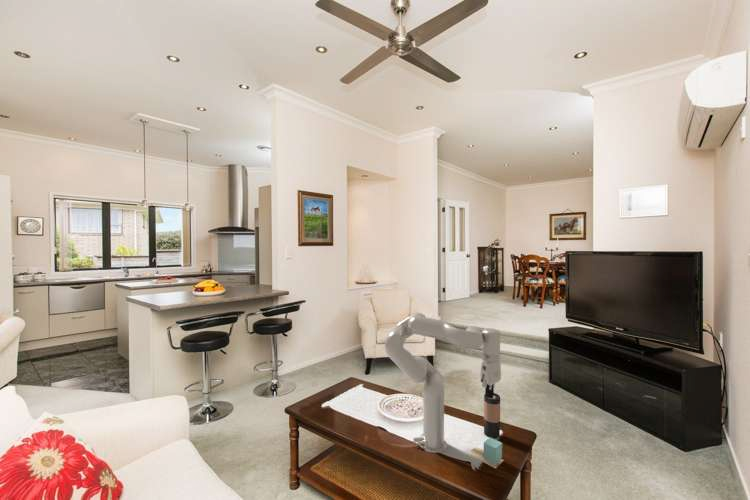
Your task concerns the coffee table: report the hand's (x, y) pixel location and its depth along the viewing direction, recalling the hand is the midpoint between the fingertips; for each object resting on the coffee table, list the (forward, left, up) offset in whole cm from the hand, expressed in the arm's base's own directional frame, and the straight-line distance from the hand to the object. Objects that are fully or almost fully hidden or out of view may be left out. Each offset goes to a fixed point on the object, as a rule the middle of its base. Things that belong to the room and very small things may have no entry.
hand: (489, 396), depth 152 cm
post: (-1, -6, -25) cm, 26 cm away
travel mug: (+8, +12, -26) cm, 30 cm away
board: (-3, -3, -26) cm, 26 cm away
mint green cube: (-1, -6, -24) cm, 24 cm away
